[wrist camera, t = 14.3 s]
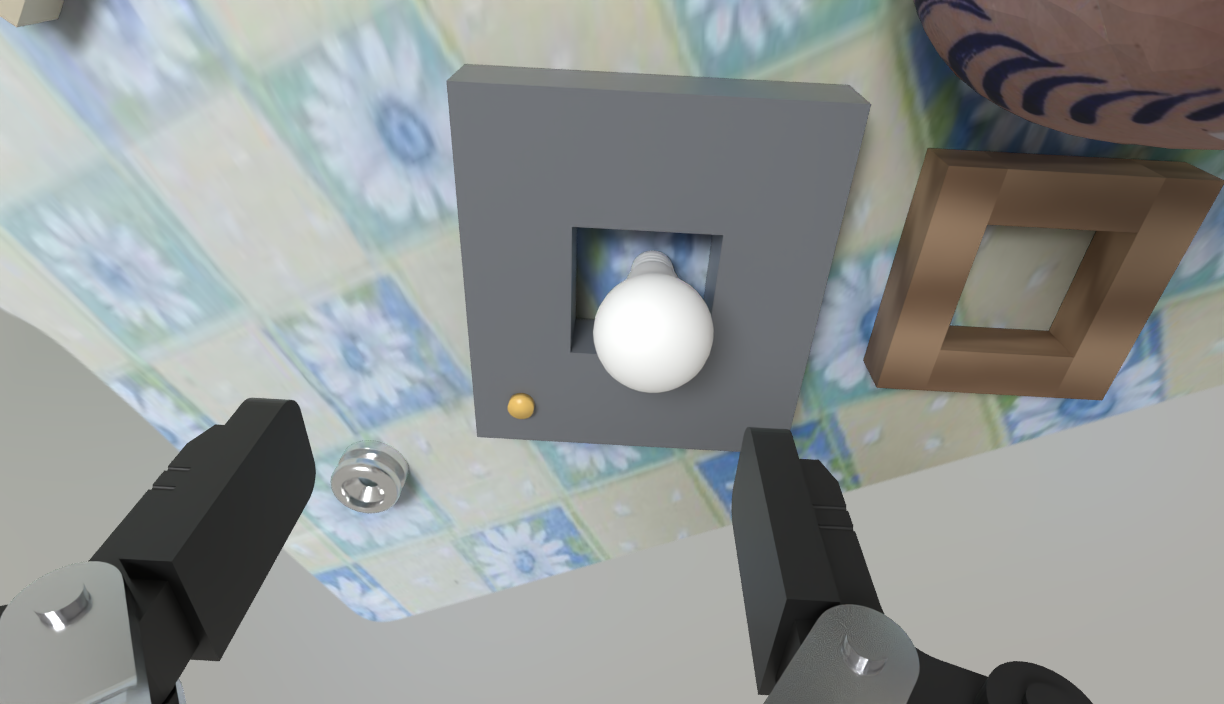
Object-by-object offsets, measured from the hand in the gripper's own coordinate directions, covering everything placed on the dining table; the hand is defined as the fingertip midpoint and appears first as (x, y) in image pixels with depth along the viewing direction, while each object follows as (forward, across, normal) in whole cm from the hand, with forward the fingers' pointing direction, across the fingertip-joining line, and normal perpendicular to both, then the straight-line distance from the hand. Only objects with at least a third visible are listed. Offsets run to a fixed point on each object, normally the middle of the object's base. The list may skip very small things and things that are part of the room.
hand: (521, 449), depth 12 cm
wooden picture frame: (+28, -25, +9) cm, 39 cm away
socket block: (+28, -3, +10) cm, 30 cm away
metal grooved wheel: (+28, +16, +28) cm, 43 cm away
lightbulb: (+28, -4, +10) cm, 30 cm away
